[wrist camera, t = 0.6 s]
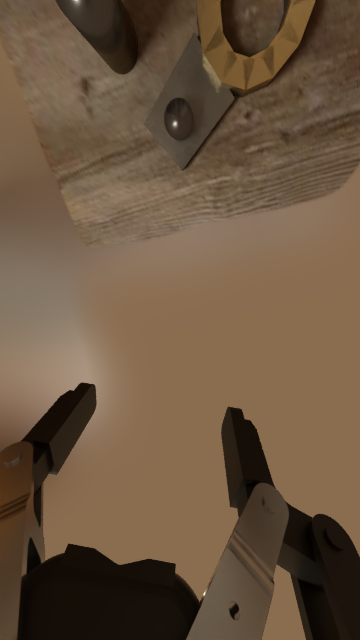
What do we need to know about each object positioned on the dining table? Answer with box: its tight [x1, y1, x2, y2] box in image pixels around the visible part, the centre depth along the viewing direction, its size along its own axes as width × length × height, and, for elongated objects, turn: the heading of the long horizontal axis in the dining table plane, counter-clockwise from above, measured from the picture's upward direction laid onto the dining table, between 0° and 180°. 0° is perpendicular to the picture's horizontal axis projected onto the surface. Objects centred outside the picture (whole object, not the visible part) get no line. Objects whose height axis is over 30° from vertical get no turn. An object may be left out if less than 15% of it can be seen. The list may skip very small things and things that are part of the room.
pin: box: [56, 0, 138, 74], centre depth 17 cm, size 4×4×9 cm
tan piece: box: [144, 0, 316, 170], centre depth 17 cm, size 10×26×4 cm, turn 137°
